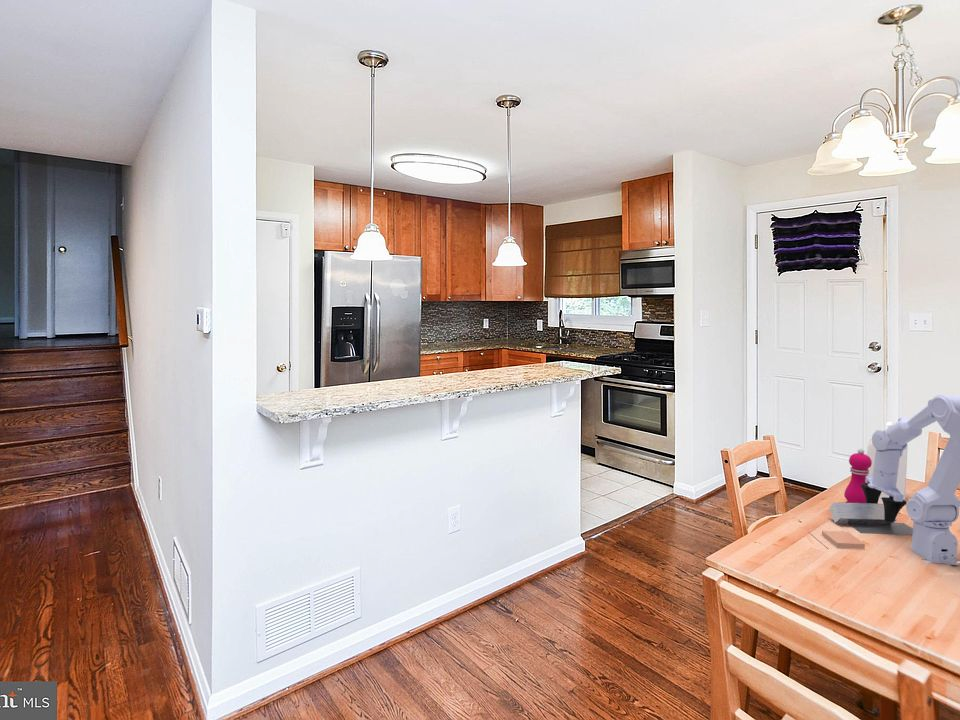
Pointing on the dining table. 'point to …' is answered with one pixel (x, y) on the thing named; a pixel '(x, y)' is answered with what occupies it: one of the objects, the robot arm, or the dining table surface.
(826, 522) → the dining table surface
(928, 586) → the dining table surface
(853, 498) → the pepper mill
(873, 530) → the board
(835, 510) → the bar
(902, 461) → the milk
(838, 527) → the dining table surface
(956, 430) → the robot arm
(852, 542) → the tile
